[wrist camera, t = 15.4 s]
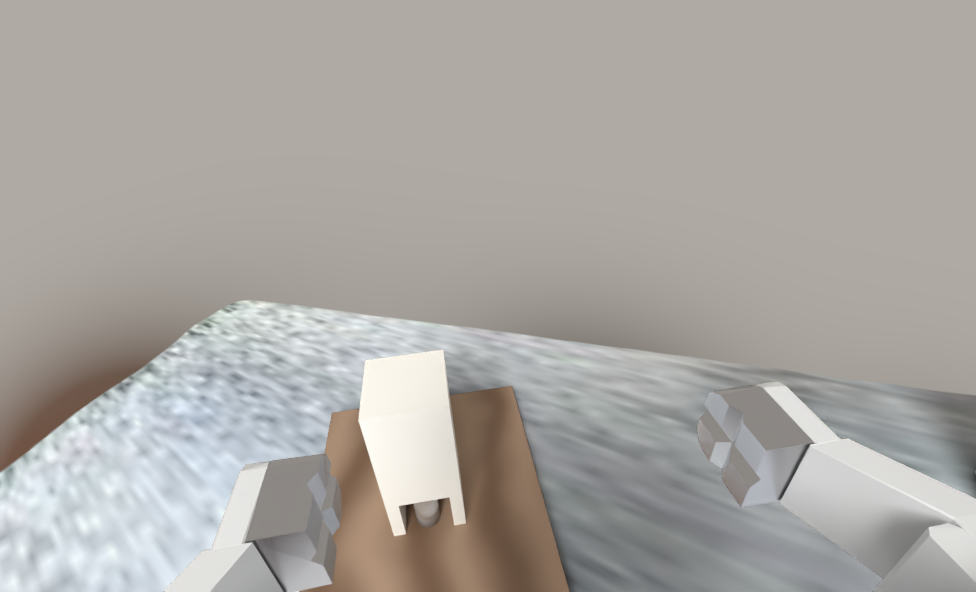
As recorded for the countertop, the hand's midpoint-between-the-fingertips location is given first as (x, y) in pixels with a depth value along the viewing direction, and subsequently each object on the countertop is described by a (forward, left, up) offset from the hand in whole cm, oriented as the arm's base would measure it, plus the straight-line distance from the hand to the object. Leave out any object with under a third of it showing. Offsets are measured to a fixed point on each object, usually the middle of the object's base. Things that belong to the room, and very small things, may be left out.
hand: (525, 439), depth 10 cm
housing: (+5, -18, -28) cm, 34 cm away
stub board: (+5, -18, -30) cm, 35 cm away
